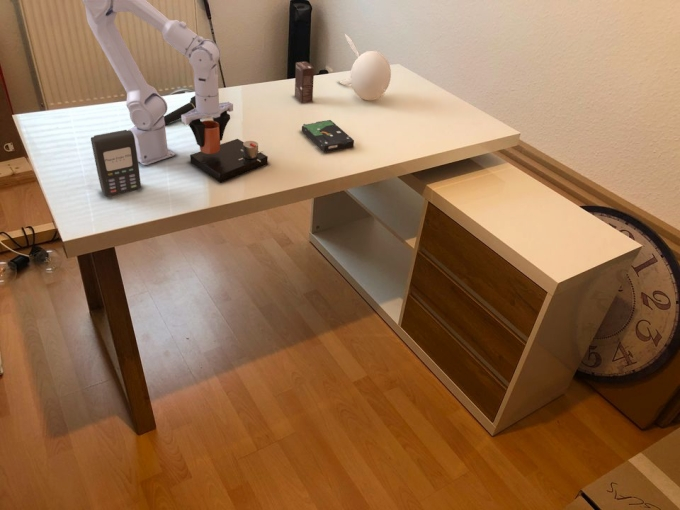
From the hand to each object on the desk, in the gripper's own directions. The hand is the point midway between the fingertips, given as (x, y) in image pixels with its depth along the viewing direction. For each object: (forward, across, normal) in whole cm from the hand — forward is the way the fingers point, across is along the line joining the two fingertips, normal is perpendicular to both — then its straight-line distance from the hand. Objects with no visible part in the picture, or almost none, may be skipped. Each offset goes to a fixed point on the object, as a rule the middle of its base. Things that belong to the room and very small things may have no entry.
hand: (209, 142), depth 145 cm
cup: (+2, 0, 0) cm, 2 cm away
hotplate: (+6, +4, -3) cm, 8 cm away
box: (+7, +51, +17) cm, 54 cm away
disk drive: (+7, +36, -9) cm, 38 cm away
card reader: (+7, -25, +2) cm, 26 cm away
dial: (+4, +9, -7) cm, 11 cm away
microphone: (+7, +9, +28) cm, 30 cm away
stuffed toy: (+7, +71, +8) cm, 72 cm away
